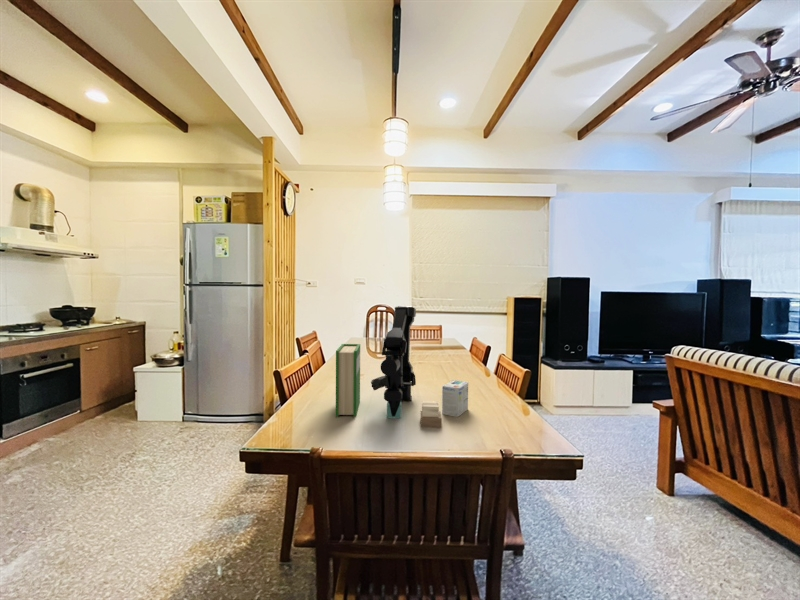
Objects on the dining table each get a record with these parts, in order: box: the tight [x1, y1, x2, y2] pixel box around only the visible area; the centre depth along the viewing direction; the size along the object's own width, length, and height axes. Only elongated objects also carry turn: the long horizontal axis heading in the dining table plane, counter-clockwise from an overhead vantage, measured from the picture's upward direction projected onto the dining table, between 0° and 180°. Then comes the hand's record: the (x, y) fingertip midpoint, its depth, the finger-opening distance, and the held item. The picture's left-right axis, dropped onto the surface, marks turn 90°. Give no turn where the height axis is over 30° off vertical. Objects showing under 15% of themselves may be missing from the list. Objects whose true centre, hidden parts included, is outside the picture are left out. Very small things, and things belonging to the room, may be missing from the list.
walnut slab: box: [420, 410, 443, 429], centre depth 125 cm, size 7×7×4 cm
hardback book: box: [335, 343, 361, 418], centre depth 139 cm, size 18×7×24 cm, turn 2°
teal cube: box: [386, 401, 402, 419], centre depth 132 cm, size 5×5×5 cm
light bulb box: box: [441, 379, 469, 418], centre depth 137 cm, size 11×7×11 cm, turn 149°
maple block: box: [421, 401, 440, 417], centre depth 125 cm, size 6×6×4 cm
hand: (394, 411), depth 132 cm, fingers open, 9 cm apart
